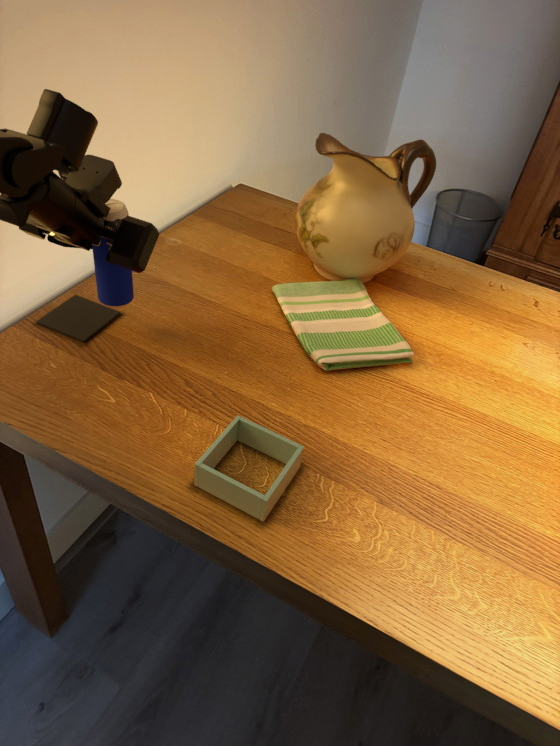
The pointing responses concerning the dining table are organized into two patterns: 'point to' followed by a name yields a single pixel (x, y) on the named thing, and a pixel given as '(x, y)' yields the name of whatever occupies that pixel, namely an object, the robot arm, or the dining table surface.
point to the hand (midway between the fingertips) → (118, 251)
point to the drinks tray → (235, 490)
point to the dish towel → (341, 325)
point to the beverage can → (112, 267)
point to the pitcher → (361, 209)
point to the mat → (78, 318)
